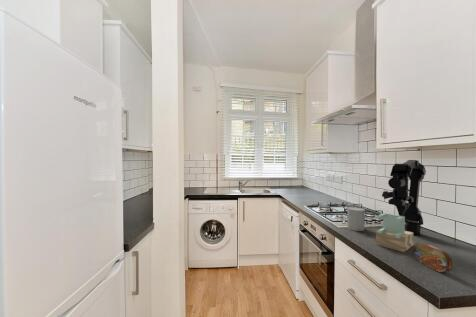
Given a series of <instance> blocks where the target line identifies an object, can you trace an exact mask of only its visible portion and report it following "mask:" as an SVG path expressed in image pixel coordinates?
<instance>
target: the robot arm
mask: <svg viewBox="0 0 476 317" xmlns="http://www.w3.org/2000/svg"><path fill="white" fill-rule="evenodd" d="M426 173H427V170H426V168H425V165H423V164H422V163H420V161H419V160H418V159H417V160H416V159H408V160H407V161H405V162H403V163H394V164H393V165H392V169H391V172H390V177H391V178H390V179H388V181H387V182H388V186H389V187H390V188H391V189H392V191H388V190H384V191H383V192H382V193H381V197H383V199H384V200H387V199H388V205H392V206H393V205H394V206H395V207H396V210H397V213H398V214H397V215H399V216H404V217H405V231H409V232H413V233H414V235H415V236H416V235H417V236H422V235H423V234H422V233H421V226H422V225H424V218H423V215H422V214H421V213H422V212H421V210H420V207H419V197H420V189H421V188H420V186H421V182H422V181H423V180H424V179H425V176H426ZM409 181H410V183H409Z"/></svg>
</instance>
